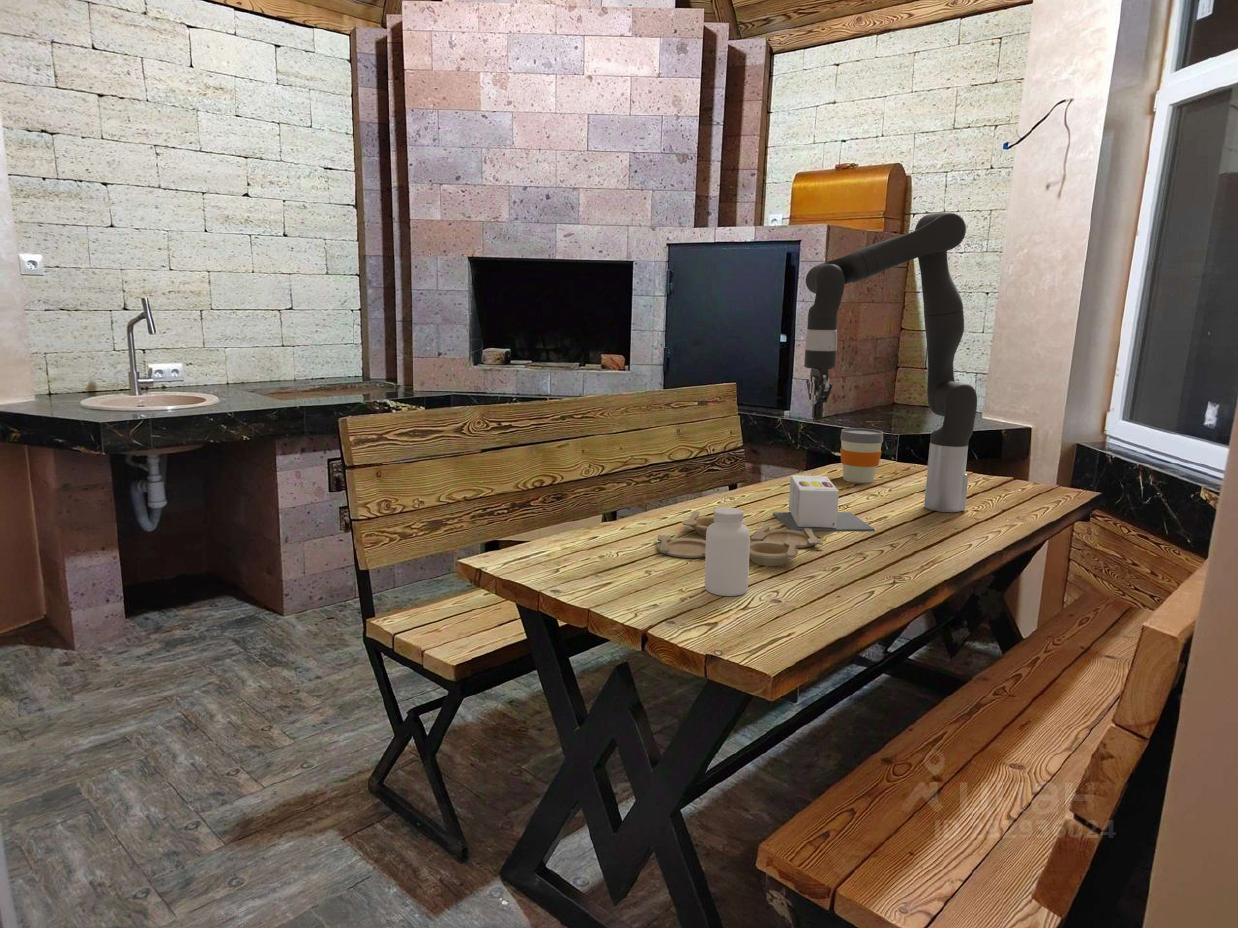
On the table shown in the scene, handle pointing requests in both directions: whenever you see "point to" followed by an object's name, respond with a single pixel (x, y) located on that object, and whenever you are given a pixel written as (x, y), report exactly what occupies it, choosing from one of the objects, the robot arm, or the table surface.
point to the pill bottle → (727, 553)
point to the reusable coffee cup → (860, 453)
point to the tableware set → (764, 549)
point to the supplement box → (813, 501)
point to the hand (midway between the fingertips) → (816, 418)
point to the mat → (844, 523)
